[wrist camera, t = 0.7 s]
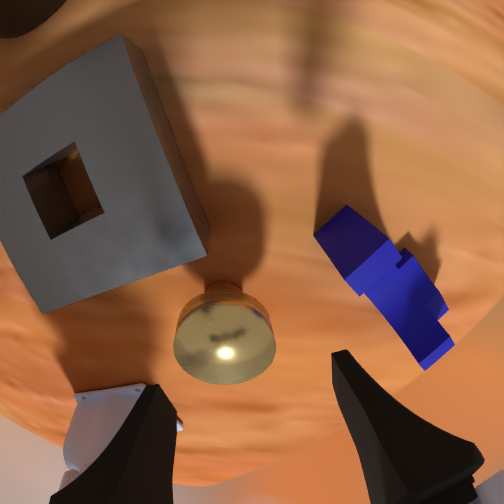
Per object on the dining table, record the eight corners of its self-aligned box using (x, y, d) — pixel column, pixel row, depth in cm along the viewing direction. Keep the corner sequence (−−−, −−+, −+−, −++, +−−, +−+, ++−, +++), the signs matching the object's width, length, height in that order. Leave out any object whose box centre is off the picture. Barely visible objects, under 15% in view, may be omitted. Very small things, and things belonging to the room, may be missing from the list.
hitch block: (66, 283, 19) (42, 314, 16) (1, 141, 14) (-35, 150, 11) (210, 228, 19) (207, 255, 15) (142, 50, 14) (120, 33, 10)
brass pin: (203, 336, 22) (199, 392, 17) (170, 276, 20) (155, 328, 15) (273, 314, 22) (287, 369, 17) (249, 249, 20) (258, 296, 14)
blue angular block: (430, 290, 23) (469, 331, 17) (393, 324, 24) (424, 370, 18) (361, 188, 19) (410, 218, 13) (312, 234, 20) (344, 279, 14)
